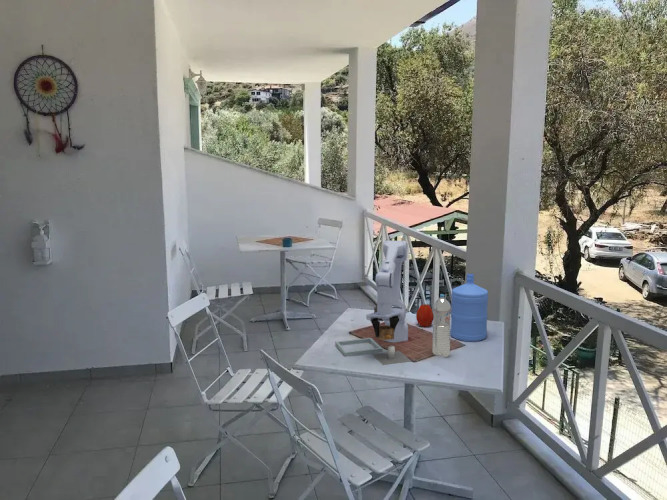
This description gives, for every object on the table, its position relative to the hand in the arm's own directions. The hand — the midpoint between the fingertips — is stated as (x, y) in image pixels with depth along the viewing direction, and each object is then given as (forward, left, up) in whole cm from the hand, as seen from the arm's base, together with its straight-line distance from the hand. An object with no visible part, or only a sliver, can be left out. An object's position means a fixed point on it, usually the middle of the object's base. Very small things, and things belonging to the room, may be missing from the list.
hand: (384, 335), depth 212 cm
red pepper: (-34, -34, -10) cm, 49 cm away
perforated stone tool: (-21, -47, -10) cm, 52 cm away
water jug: (-45, -14, -10) cm, 48 cm away
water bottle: (-23, +4, -10) cm, 25 cm away
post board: (-2, +3, -9) cm, 10 cm away
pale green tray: (+7, -11, -9) cm, 16 cm away
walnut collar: (0, 0, -1) cm, 1 cm away
